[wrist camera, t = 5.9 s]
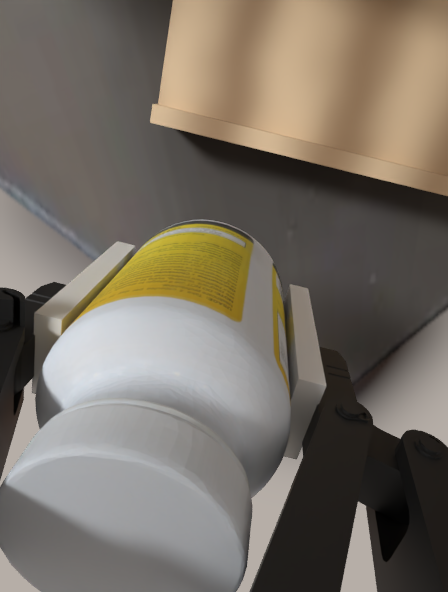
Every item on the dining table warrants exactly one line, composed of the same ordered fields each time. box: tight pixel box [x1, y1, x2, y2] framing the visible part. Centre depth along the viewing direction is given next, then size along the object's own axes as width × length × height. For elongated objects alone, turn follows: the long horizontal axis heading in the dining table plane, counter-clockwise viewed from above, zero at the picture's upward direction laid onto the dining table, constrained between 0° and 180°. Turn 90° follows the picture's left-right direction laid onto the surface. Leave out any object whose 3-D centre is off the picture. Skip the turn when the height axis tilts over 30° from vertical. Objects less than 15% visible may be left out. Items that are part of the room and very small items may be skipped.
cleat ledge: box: [150, 0, 448, 196], centre depth 24 cm, size 22×11×4 cm, turn 77°
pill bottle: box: [0, 220, 291, 592], centre depth 13 cm, size 6×6×12 cm
